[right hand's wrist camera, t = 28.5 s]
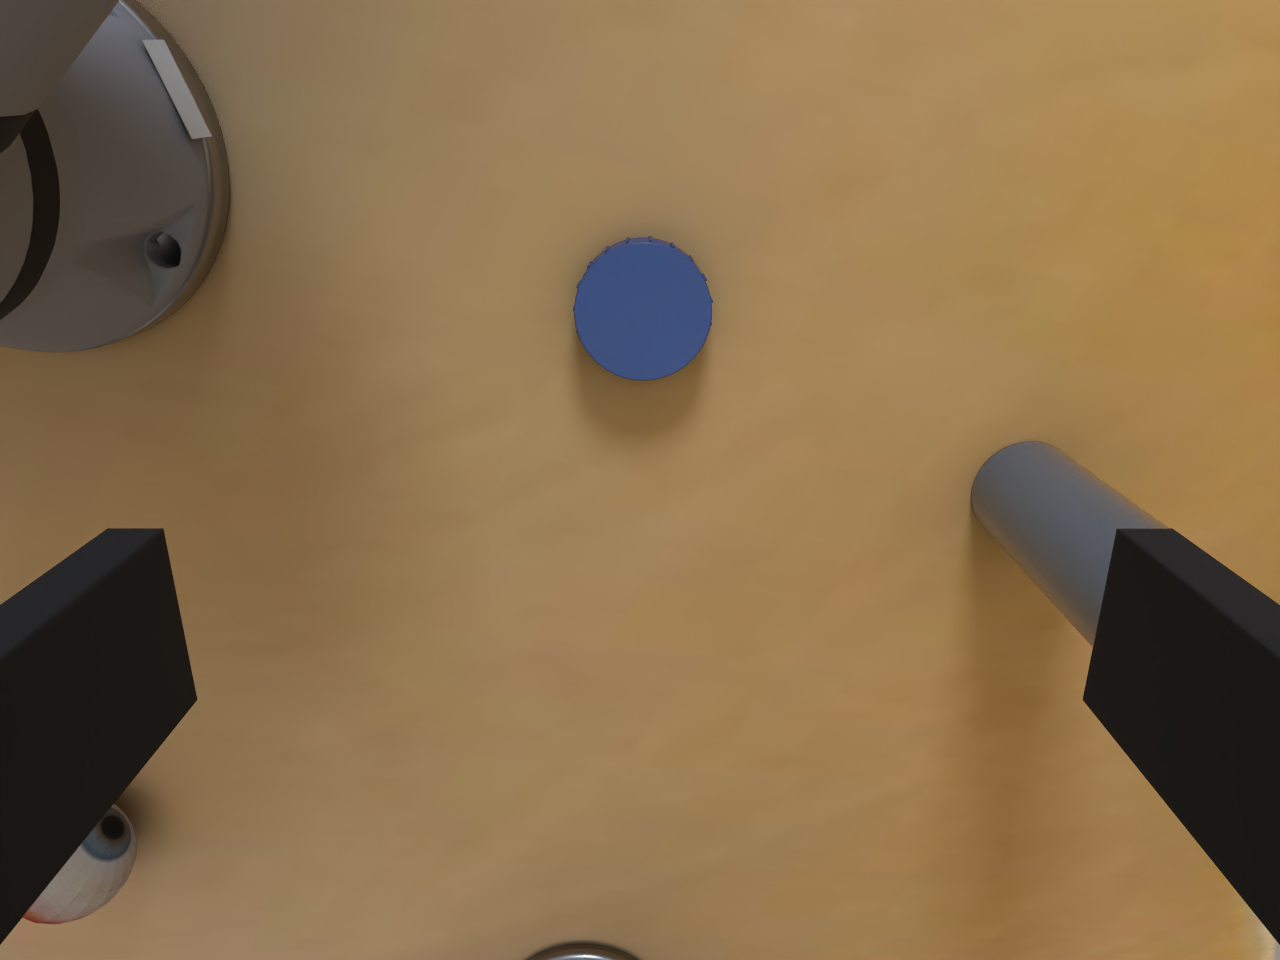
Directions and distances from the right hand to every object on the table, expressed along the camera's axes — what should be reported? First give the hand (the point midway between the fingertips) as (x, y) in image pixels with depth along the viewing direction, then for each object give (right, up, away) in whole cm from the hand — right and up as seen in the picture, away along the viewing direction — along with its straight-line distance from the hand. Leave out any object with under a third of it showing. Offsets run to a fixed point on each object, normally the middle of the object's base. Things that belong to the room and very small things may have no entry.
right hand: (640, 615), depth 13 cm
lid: (0, +9, +25) cm, 26 cm away
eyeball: (-29, -16, +36) cm, 48 cm away
